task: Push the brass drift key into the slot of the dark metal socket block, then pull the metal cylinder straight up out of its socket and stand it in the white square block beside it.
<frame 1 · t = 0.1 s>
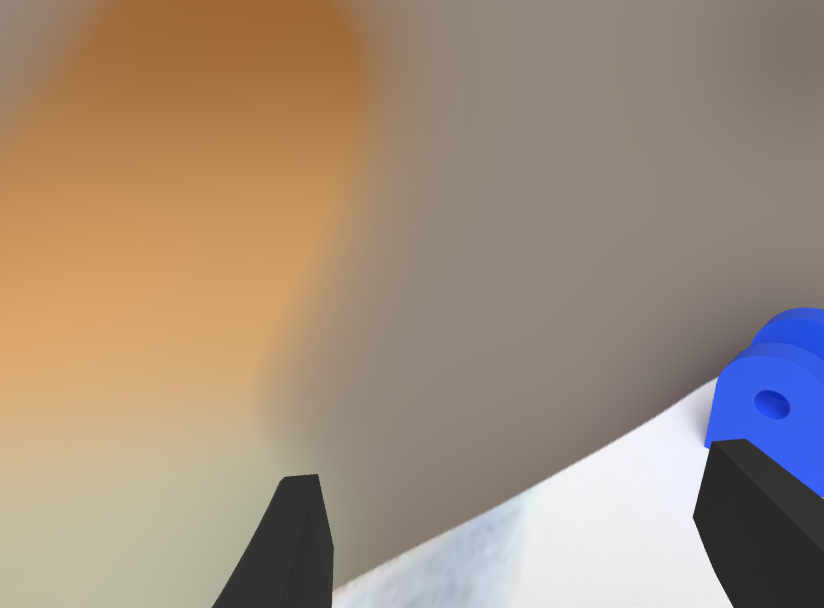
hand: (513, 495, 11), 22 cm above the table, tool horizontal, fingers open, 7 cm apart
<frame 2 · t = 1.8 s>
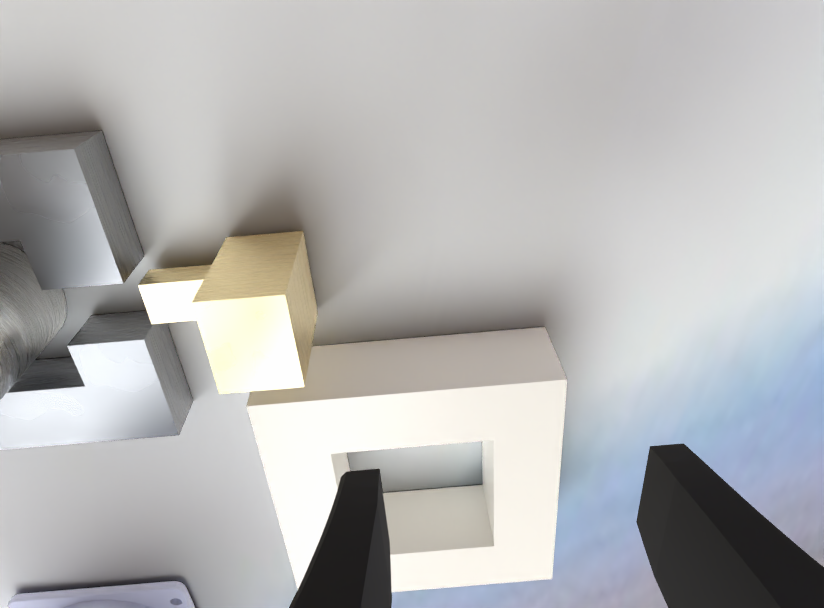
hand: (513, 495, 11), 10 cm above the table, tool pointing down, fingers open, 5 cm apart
drift key: (219, 311, 18), point 2 cm above the table, slide at 0.0 cm
socket block: (1, 296, 20), on the table
white square block: (413, 442, 24), on the table
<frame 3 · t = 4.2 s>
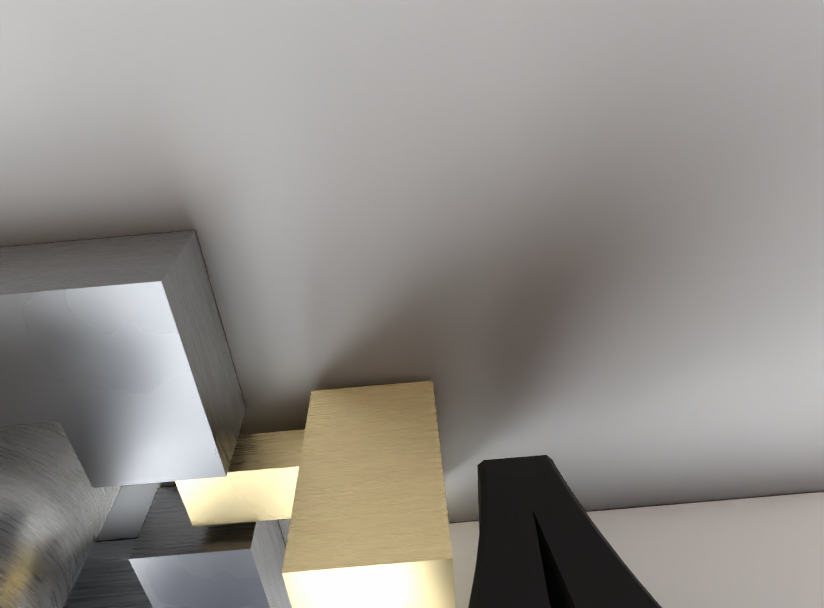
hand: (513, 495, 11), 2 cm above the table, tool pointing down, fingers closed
drift key: (307, 526, 11), point 2 cm above the table, slide at 1.4 cm, touching gripper
socket block: (23, 465, 13), on the table
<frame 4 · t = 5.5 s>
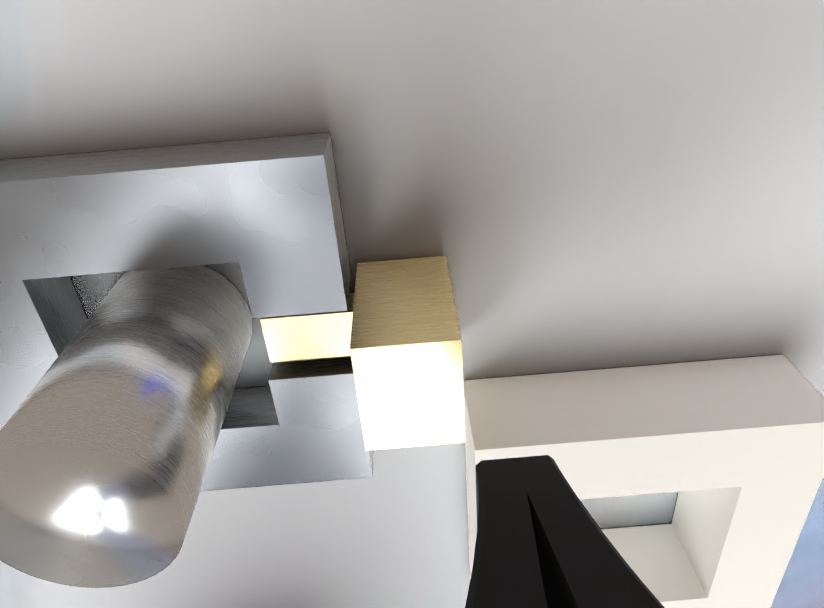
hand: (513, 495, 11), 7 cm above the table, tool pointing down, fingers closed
metal cylinder: (139, 400, 14), in the socket block
drift key: (357, 351, 15), point 2 cm above the table, slide at 2.6 cm
socket block: (181, 321, 17), on the table
white square block: (607, 479, 21), on the table
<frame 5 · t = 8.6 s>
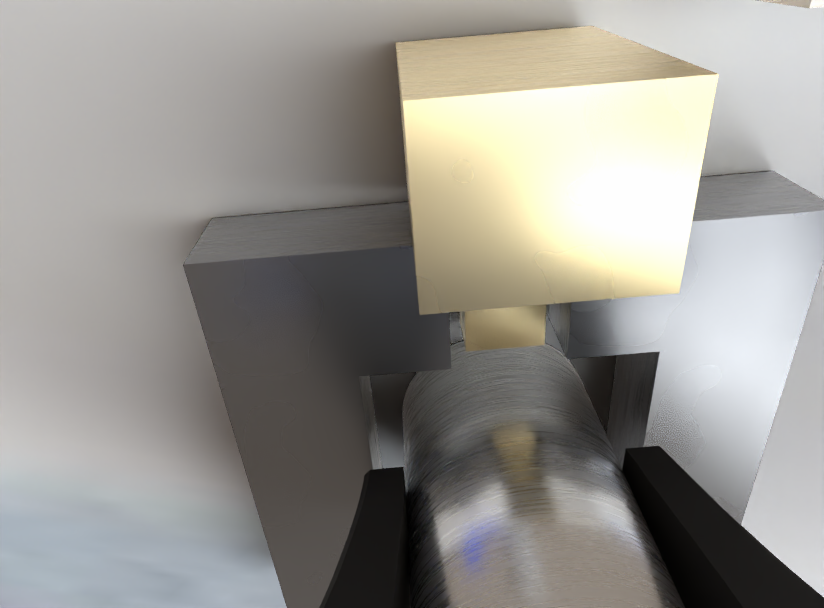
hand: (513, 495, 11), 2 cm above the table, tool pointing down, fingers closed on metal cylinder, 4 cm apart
metal cylinder: (525, 545, 10), in the socket block, touching gripper
drift key: (516, 239, 9), point 2 cm above the table, slide at 2.6 cm
socket block: (493, 409, 13), on the table
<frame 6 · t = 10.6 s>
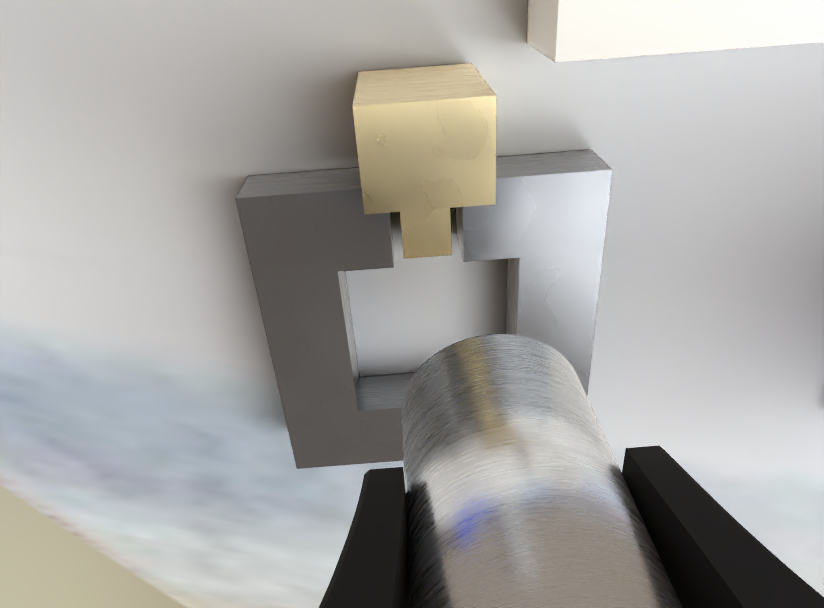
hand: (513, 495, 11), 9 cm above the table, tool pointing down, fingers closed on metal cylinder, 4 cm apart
metal cylinder: (523, 544, 10), point 10 cm above the table, touching gripper
drift key: (424, 183, 15), point 2 cm above the table, slide at 2.6 cm
socket block: (428, 309, 20), on the table
when the fingers open (4 cm above the table, at t = 12.8 s): metal cylinder drops 1 cm, resting in white square block.
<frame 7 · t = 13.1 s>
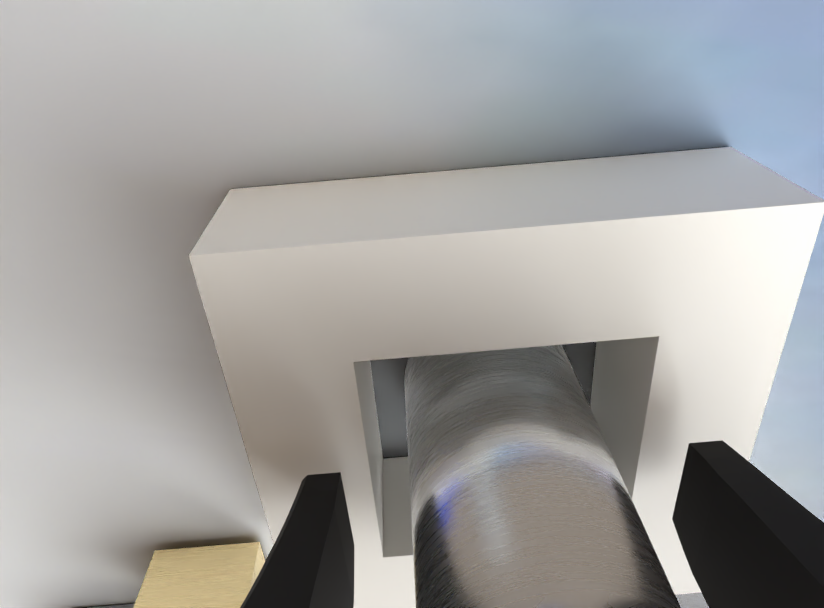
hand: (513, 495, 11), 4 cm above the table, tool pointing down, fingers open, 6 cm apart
metal cylinder: (512, 489, 12), in the white square block
white square block: (483, 368, 15), on the table
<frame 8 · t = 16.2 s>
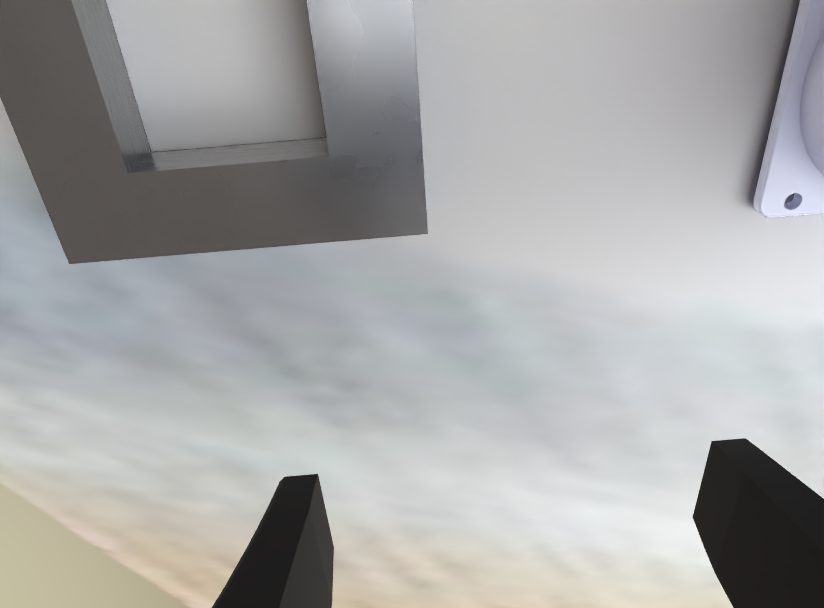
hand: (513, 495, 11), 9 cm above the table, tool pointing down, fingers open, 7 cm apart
socket block: (220, 45, 16), on the table
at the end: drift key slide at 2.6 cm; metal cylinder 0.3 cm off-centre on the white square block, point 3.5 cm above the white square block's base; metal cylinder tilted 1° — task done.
